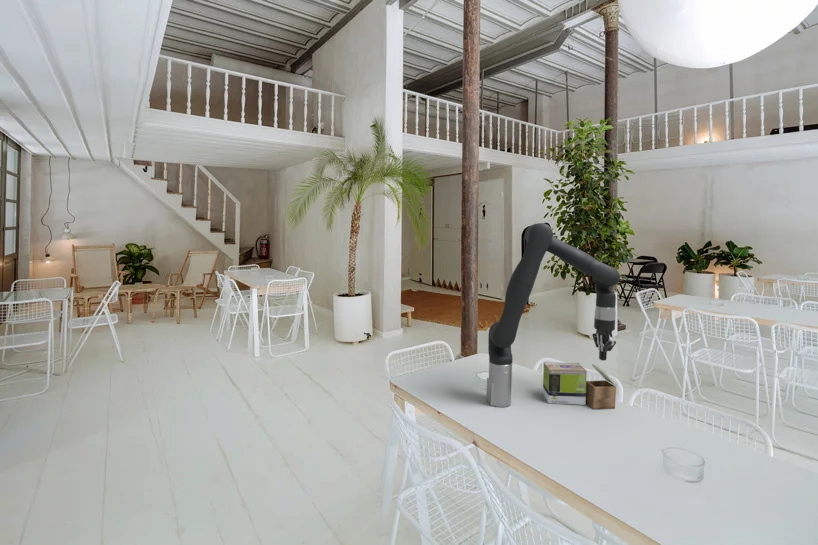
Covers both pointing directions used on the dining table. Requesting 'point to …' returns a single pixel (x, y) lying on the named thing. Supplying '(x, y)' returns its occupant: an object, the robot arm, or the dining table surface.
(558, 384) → the tea box
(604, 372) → the lid
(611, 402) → the chest
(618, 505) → the dining table surface
